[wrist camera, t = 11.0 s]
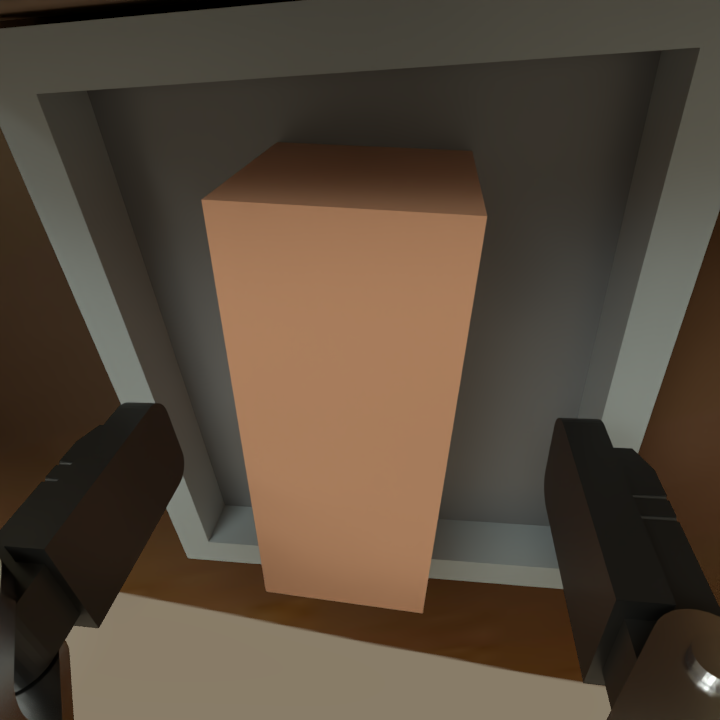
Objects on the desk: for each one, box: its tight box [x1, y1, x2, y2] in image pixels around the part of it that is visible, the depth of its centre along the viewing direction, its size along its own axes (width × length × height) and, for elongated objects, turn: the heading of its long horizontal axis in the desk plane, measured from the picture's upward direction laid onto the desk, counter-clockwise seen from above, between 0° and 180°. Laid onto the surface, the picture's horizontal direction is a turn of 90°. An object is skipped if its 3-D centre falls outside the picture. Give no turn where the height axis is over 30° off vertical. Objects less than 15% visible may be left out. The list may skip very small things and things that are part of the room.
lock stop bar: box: [201, 142, 487, 613], centre depth 11 cm, size 10×4×4 cm, turn 179°
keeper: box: [0, 0, 720, 589], centre depth 13 cm, size 15×13×2 cm
